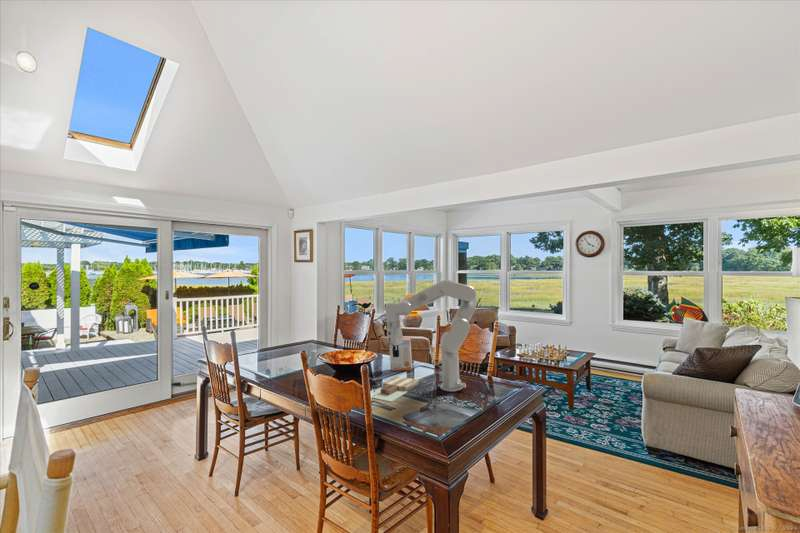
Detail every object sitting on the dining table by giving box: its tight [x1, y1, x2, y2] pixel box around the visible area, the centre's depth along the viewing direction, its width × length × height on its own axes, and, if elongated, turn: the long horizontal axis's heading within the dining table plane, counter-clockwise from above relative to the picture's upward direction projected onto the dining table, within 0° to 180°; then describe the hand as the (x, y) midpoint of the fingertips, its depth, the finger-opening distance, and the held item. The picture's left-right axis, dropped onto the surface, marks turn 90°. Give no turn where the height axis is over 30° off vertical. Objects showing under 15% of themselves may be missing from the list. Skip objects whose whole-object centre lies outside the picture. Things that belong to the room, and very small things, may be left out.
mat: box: [371, 386, 408, 403], centre depth 208 cm, size 18×16×1 cm
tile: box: [381, 384, 399, 395], centre depth 211 cm, size 6×9×2 cm, turn 147°
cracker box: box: [389, 337, 413, 372], centre depth 253 cm, size 14×6×21 cm, turn 84°
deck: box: [382, 376, 420, 392], centre depth 221 cm, size 16×14×2 cm
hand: (396, 356), depth 213 cm, fingers closed
